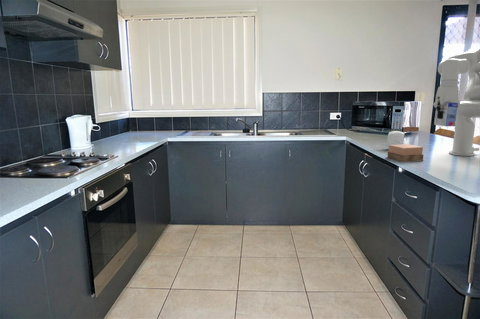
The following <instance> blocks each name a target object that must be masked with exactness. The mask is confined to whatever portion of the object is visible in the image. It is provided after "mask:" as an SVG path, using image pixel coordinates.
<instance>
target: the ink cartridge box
mask: <svg viewBox="0 0 480 319" xmlns="http://www.w3.org/2000/svg"><path fill="white" fill-rule="evenodd" d="M457 105H458V103H445V105H444V108H443V110H442V111H443V118H442V119H437V113H438V111H437V110H436V109H435V113H434V114H435V115H434V122H433V123H434V124H433V125H434V126H440V127H455V123H456V114H457ZM440 108H441V107H440Z"/></svg>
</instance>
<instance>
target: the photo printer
mask: <svg viewBox="0 0 480 319" xmlns="http://www.w3.org/2000/svg"><path fill="white" fill-rule="evenodd" d="M386 142H387V143H386V150H388V151H389V145H401V144H404V142H405V133H404V132H403V131H399V130H394V131H389V132H388V134H387V141H386Z"/></svg>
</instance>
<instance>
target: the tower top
mask: <svg viewBox="0 0 480 319" xmlns="http://www.w3.org/2000/svg"><path fill="white" fill-rule="evenodd" d="M388 152H391V153H395V154H399V155H419V154H422V155H423V146H420V145H419V146H418V145H414V144H409V143H406V144H401V145H389V150H388Z"/></svg>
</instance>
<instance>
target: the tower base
mask: <svg viewBox="0 0 480 319" xmlns="http://www.w3.org/2000/svg"><path fill="white" fill-rule="evenodd" d="M386 158H388V159H392V160H394V161H398V162H400V163H401V162H406V163H407V162H423V161H424V154H423V153H422V154H419V155H399V154H395V153H391V152H389V151H387V157H386Z"/></svg>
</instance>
